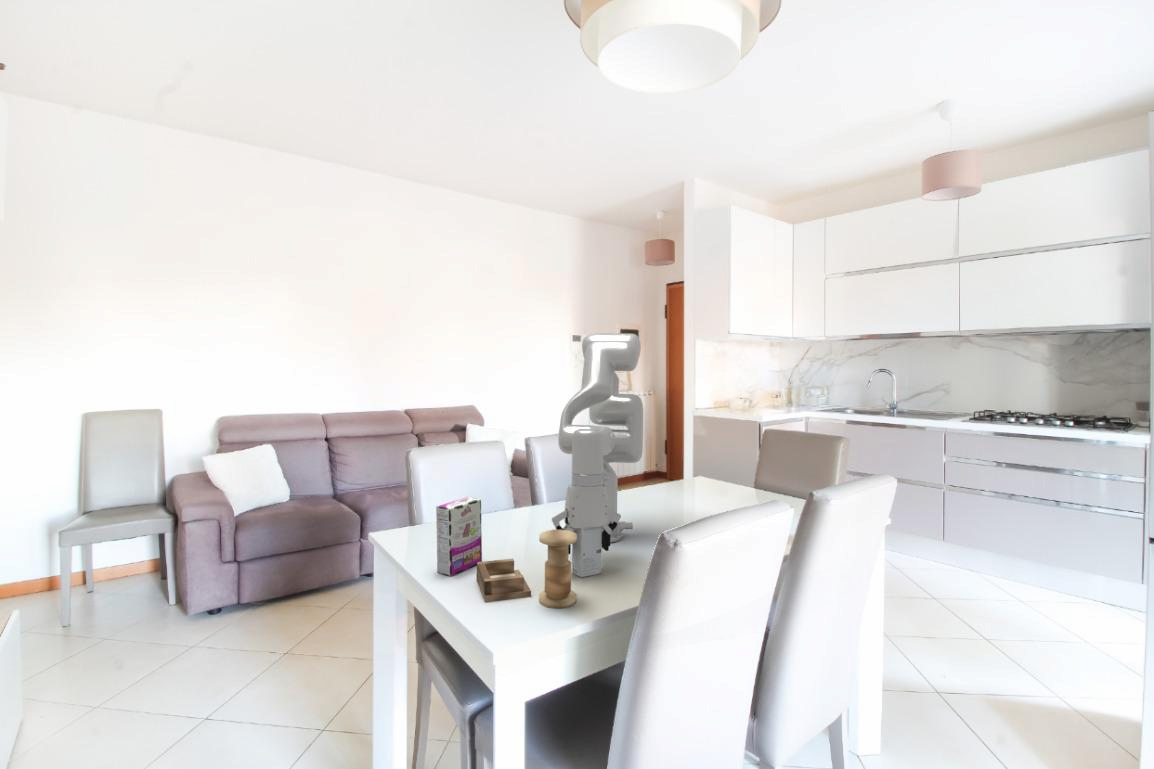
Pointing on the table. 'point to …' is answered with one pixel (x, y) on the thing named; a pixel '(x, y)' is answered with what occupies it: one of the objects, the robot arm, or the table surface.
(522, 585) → the wooden u-shaped holder
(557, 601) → the bobbin
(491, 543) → the table surface
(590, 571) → the skincare box
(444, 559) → the candy bar box
